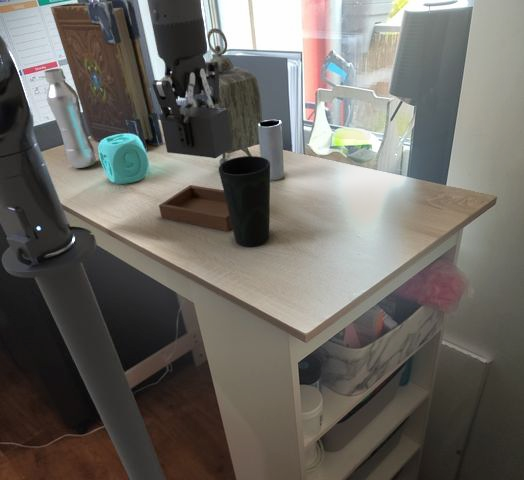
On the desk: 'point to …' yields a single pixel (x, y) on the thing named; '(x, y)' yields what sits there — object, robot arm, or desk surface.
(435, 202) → the desk surface
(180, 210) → the wooden tray
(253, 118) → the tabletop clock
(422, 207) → the desk surface
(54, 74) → the silver metal bottle
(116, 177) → the decorative dice
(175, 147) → the black rectangular box
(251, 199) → the cup
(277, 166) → the grey cylindrical tube
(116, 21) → the decorative book
